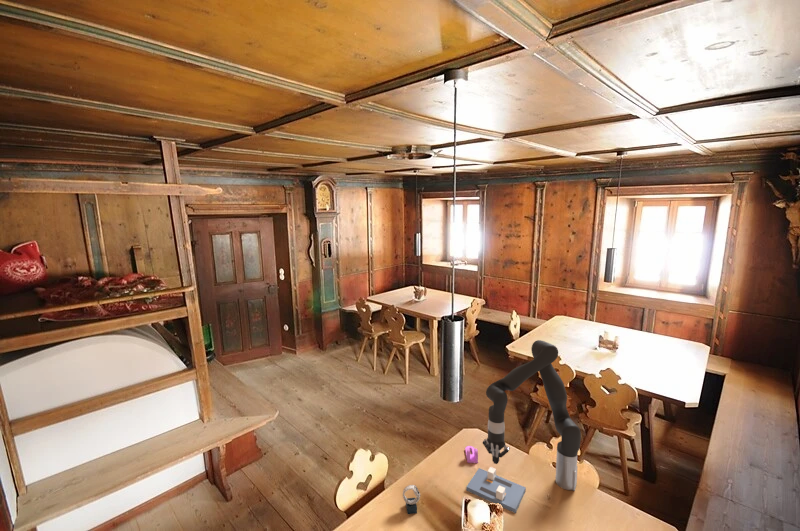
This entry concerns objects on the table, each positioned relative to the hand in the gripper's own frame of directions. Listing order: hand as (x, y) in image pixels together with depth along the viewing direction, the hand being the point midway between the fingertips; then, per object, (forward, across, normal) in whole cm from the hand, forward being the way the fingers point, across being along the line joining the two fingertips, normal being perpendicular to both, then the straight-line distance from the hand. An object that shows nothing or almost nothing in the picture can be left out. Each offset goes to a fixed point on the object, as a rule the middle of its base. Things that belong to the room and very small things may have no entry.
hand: (495, 462), depth 164 cm
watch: (+17, +29, +29) cm, 44 cm away
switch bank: (+17, +1, -4) cm, 18 cm away
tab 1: (+15, +5, -9) cm, 18 cm away
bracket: (+18, +22, -22) cm, 36 cm away
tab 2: (+15, -3, +1) cm, 15 cm away
